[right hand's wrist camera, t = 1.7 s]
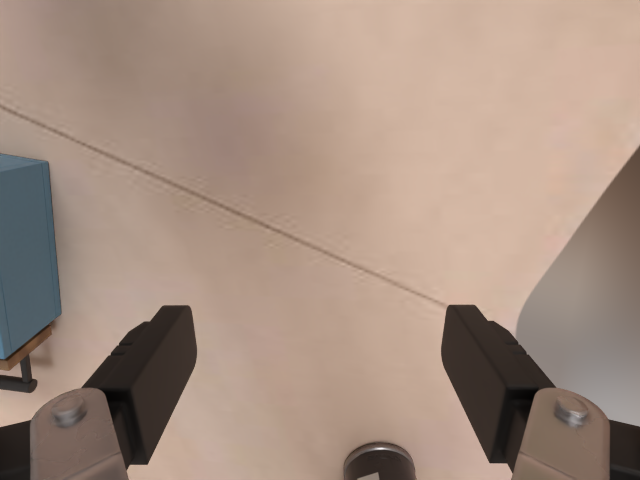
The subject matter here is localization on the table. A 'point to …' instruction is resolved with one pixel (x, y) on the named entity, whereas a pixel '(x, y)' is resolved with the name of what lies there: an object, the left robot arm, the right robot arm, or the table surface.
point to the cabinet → (26, 252)
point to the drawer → (22, 364)
